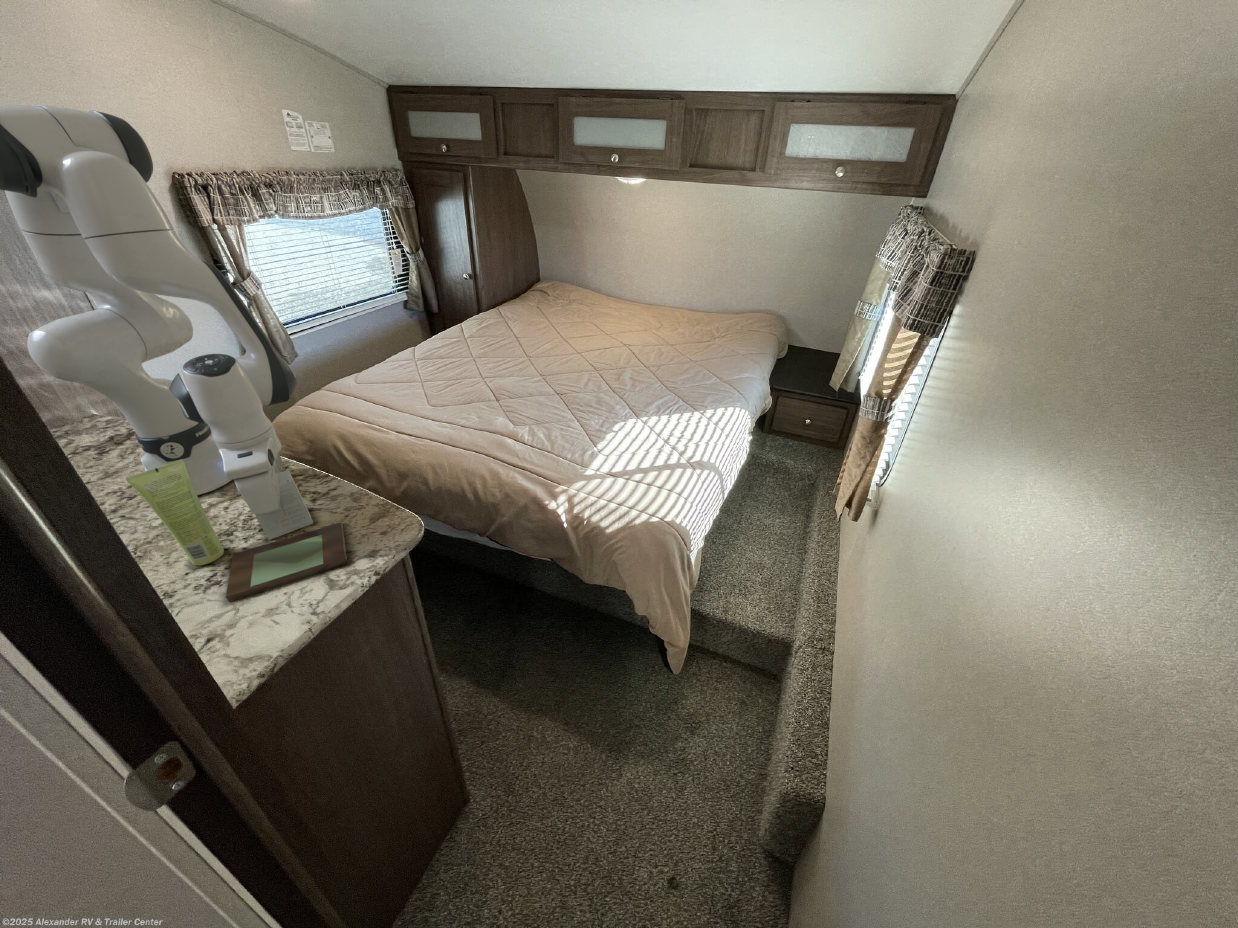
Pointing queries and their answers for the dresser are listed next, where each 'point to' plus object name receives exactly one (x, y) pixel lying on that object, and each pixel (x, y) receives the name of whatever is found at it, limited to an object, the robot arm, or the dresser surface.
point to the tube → (179, 510)
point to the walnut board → (286, 561)
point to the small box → (286, 510)
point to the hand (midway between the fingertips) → (280, 506)
